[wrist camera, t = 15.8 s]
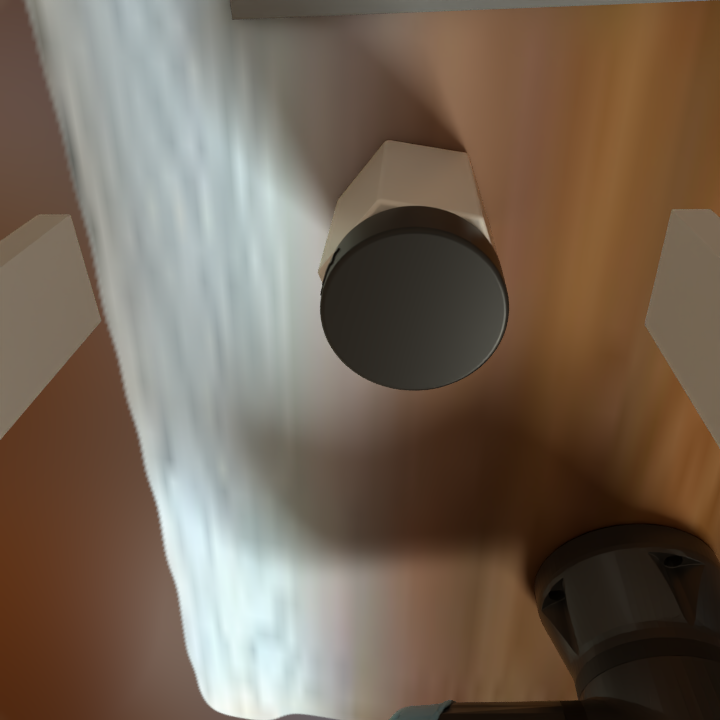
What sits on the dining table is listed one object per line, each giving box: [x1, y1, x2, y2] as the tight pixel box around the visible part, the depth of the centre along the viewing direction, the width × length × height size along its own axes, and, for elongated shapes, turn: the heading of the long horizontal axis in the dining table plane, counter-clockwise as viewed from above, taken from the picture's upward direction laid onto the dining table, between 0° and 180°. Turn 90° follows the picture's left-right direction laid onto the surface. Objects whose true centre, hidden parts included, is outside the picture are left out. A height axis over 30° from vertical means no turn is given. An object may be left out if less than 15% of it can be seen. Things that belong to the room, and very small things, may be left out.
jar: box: [318, 140, 509, 390], centre depth 32 cm, size 9×8×12 cm
